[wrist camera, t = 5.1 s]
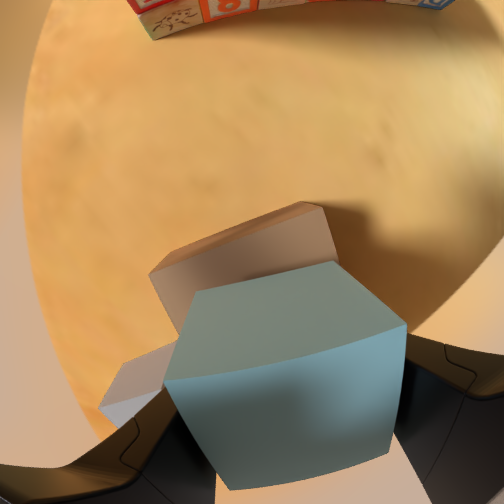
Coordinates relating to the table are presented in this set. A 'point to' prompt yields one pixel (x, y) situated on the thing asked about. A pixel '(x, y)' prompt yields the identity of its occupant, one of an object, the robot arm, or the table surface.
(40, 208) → the table surface
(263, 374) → the teal cube
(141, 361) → the light grey cube
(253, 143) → the table surface
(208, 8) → the stack of blocks
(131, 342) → the table surface
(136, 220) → the table surface
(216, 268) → the walnut block
